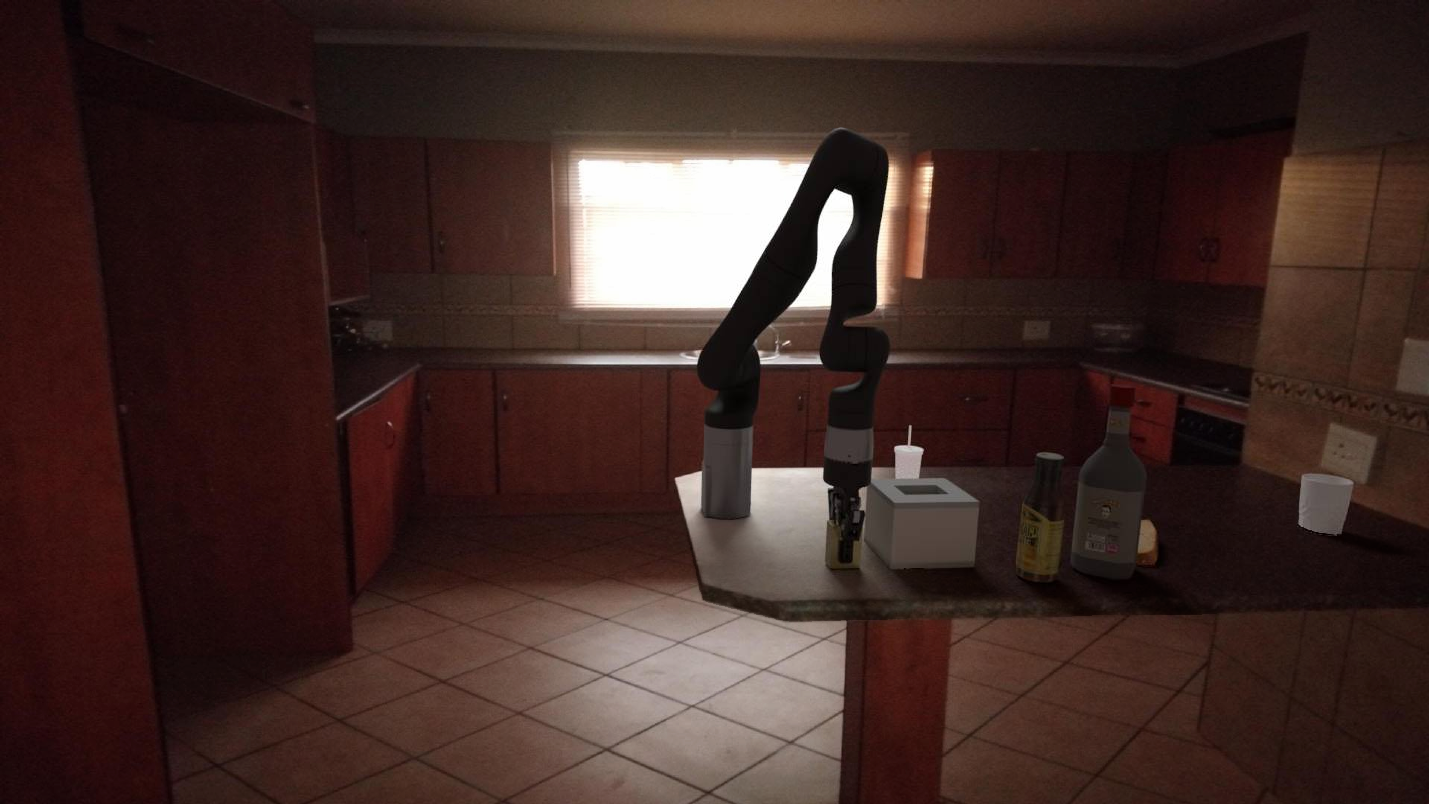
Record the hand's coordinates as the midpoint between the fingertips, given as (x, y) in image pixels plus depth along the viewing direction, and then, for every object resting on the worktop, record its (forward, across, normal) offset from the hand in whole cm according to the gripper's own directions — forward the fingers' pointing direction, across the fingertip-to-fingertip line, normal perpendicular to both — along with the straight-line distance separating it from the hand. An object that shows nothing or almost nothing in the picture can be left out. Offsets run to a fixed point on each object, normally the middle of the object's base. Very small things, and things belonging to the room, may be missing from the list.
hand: (842, 558), depth 133 cm
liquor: (+1, +4, +42) cm, 43 cm away
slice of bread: (+2, -8, +54) cm, 55 cm away
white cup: (+1, -13, +96) cm, 97 cm away
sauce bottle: (+1, +7, +30) cm, 30 cm away
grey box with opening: (+1, -5, +14) cm, 15 cm away
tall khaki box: (+1, 0, 0) cm, 1 cm away
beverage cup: (+2, -43, +26) cm, 51 cm away
